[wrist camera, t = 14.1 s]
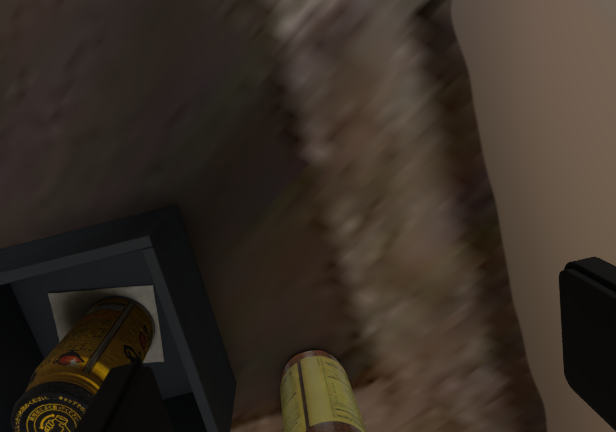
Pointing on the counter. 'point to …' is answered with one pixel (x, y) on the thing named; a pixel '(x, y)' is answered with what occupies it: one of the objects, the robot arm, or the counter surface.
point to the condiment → (87, 353)
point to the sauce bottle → (318, 395)
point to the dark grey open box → (113, 274)
